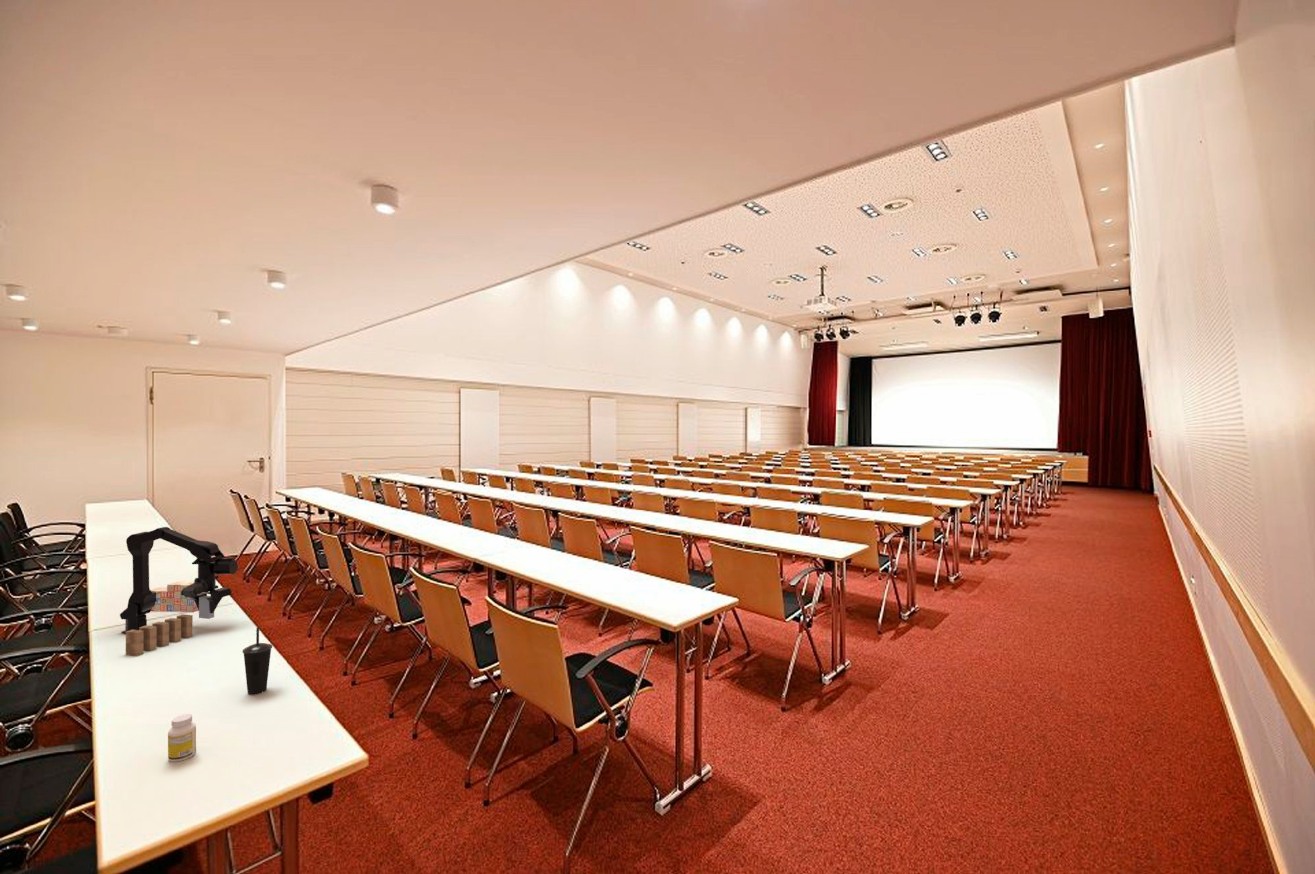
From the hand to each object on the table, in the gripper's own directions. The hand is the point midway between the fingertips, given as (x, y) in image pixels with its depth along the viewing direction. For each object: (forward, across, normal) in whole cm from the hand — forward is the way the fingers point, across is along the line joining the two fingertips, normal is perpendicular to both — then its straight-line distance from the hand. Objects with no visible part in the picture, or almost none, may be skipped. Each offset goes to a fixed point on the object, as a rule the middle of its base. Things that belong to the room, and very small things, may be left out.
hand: (206, 612), depth 233 cm
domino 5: (+7, 0, -9) cm, 11 cm away
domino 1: (+7, 0, -27) cm, 28 cm away
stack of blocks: (+7, -38, +18) cm, 42 cm away
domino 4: (+7, 0, -14) cm, 15 cm away
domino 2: (+7, 0, -22) cm, 24 cm away
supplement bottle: (+7, +81, -76) cm, 111 cm away
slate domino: (+2, 0, 0) cm, 2 cm away
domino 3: (+7, 0, -18) cm, 19 cm away
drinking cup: (+7, +68, -42) cm, 80 cm away
